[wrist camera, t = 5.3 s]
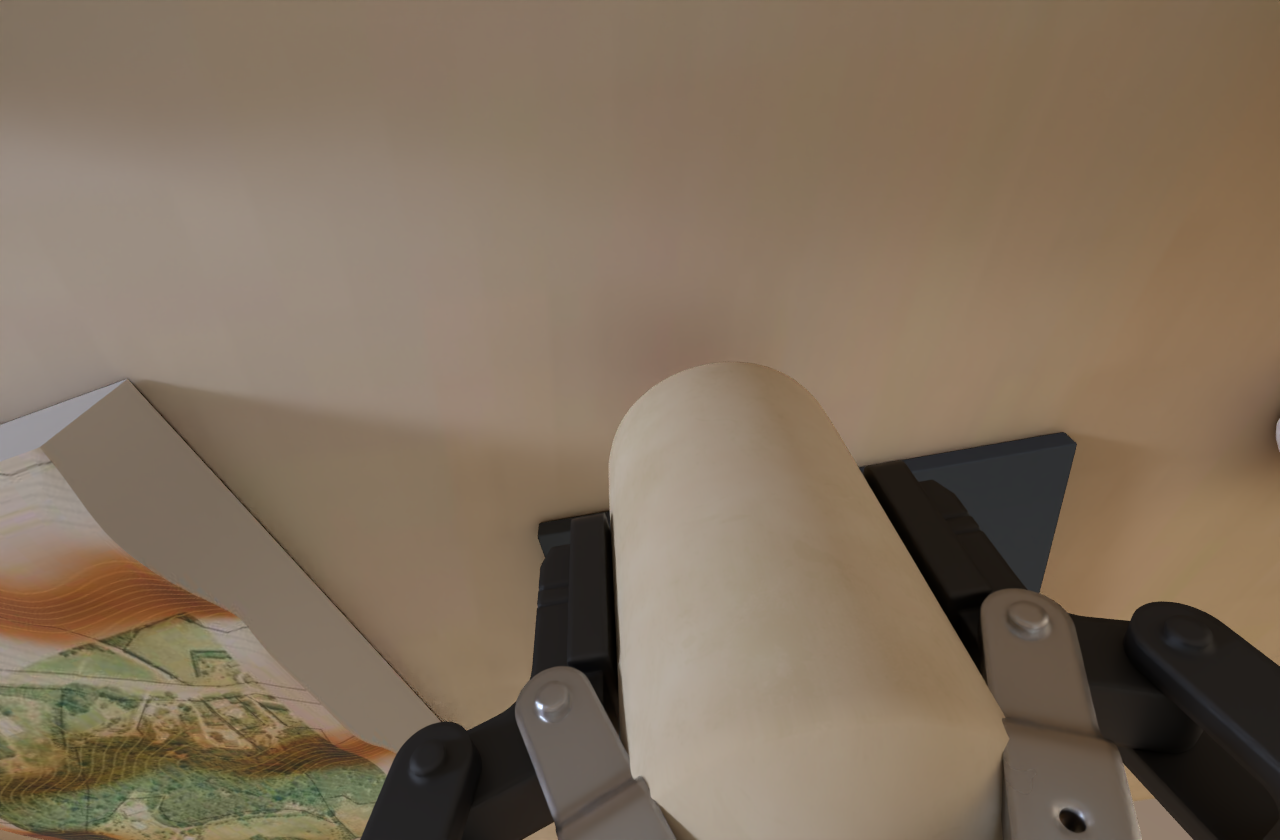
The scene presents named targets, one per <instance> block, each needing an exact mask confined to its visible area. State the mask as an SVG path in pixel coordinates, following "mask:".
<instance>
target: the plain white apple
mask: <svg viewBox="0 0 1280 840" xmlns="http://www.w3.org/2000/svg"><path fill="white" fill-rule="evenodd" d="M1276 440H1277V445H1278V448H1279V451H1280V418H1279V420H1278V422H1277V424H1276Z"/></svg>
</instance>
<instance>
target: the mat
mask: <svg viewBox="0 0 1280 840" xmlns="http://www.w3.org/2000/svg"><path fill="white" fill-rule="evenodd" d="M1076 446H1077V444H1076V442H1075V441H1073V440H1072V439H1071V438H1070V437H1069V436H1068V435H1067V434H1066V433H1063V432H1062V433H1056V434H1051V435H1045V436H1039V437H1033V438H1028V439H1022V440H1016V441H1010V442H1004V443H999V444H993V445H987V446H981V447H976V448H970V449H964V450H958V451H953V452H947V453H941V454H935V455H930V456H924V457H918V458H912V459H907V460H902V461H903V462H905V464H906V465H907V466H908V468H909V469H910V470H911V472H912V473H913V475H914V476H915V478H916V479H917V481H918V482H921V481H926V480H932V479H933V480H934V481H936V482H938V483H939V484H941V485H942V486H944V487H945V488H947V489H948V490H950V491H951V492H953V493H955V495H956V496H957V497H958V499H959V500H960V501H961V503H962V504H963V505H964V507H965V508H966V509H967V511H968V512H969V516H972V517H973V519H974V520H975V521H976V523H977V524H978V525H979V526H980V530H981V531H983V532H984V533H985V534H986V536H987V537H988V538H989V540H990V541H991V542H992V544H993V545H994V546H995V548H996V549H997V550H998V552H999V553H1000V554H1001V556H1002V557H1003V558H1004V560H1005V561H1006V562H1007V564H1008V565H1009V566H1010V568H1011V569H1012V570H1013V572H1014V573H1015V574H1016V575H1017V577H1018V578H1019V579H1020V581H1021V582H1022V583H1023V585H1024V586H1025V587H1026V588H1027V589H1028V590H1030V591H1033V592H1037V593H1039V592H1040V588H1041V584H1042V580H1043V577H1044V573H1045V569H1046V565H1047V561H1048V557H1049V553H1050V549H1051V545H1052V541H1053V537H1054V533H1055V529H1056V525H1057V521H1058V517H1059V513H1060V509H1061V505H1062V502H1063V498H1064V494H1065V490H1066V486H1067V482H1068V478H1069V474H1070V470H1071V466H1072V462H1073V458H1074V454H1075V450H1076ZM864 468H865V467H861V468H859V469H860V471H861V472H862V474H863V472H864ZM602 513H605V515H606V517H607V520H608V524H609V528H610V531H611V526H610V511H608V512H602ZM602 513H596V514H590V515H585V516H579V517H573V518H567V519H561V520H556V521H550V522H544V523H540V524H539V530H538V539H539V542H540V545H541V547H542V550H543V553H544V556H545V558H546V556H547V554H548V552H549V550H550V549H551V547H555V546H561V545H566V544H570V530H571V520H572V519H575V518H580V517H586V516H591V515H597V514H602ZM619 738H620V732H619ZM620 740H621V739H620Z"/></svg>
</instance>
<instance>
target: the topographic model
mask: <svg viewBox="0 0 1280 840" xmlns="http://www.w3.org/2000/svg"><path fill="white" fill-rule="evenodd" d="M438 722H441V721H440V720H439V719H438V718H437V717H436V716H435V714H434V713H433V712H432V711H431V710H430V709H429V708H428V707H427V706H426V705H425V704H424V702H423V701H422V700H421V699H420V698H419V697H418V696H417V695H416V694H415V693H414V692H413V690H412V689H411V688H410V687H409V686H408V685H407V684H406V683H405V682H404V681H403V680H402V678H401V677H400V676H399V675H398V674H397V673H396V672H395V671H394V670H393V669H392V668H391V666H390V665H389V664H388V663H387V662H386V661H385V660H384V659H383V658H382V657H381V656H380V654H379V653H378V652H377V651H376V650H375V649H374V648H373V647H372V646H371V645H370V643H369V642H368V641H367V640H366V639H365V638H364V637H363V636H362V635H361V634H360V633H359V631H358V630H357V629H356V628H355V627H354V626H353V625H352V624H351V623H350V622H349V621H348V619H347V618H346V617H345V616H344V615H343V614H342V613H341V612H340V611H339V610H338V609H337V607H336V606H335V605H334V604H333V603H332V602H331V601H330V600H329V599H328V598H327V597H326V595H325V594H324V593H323V592H322V591H321V590H320V589H319V588H318V587H317V586H316V585H315V583H314V582H313V581H312V580H311V579H310V578H309V577H308V576H307V575H306V574H305V572H304V571H303V570H302V569H301V568H300V567H299V566H298V565H297V564H296V563H295V562H294V560H293V559H292V558H291V557H290V556H289V555H288V554H287V553H286V552H285V551H284V550H283V548H282V547H281V546H280V545H279V544H278V543H277V542H276V541H275V540H274V539H273V538H272V536H271V535H270V534H269V533H268V532H267V531H266V530H265V529H264V528H263V527H262V526H261V524H260V523H259V522H258V521H257V520H256V519H255V518H254V517H253V516H252V515H251V514H250V512H249V511H248V510H247V509H246V508H245V507H244V506H243V505H242V504H241V503H240V501H239V500H238V499H237V498H236V497H235V496H234V495H233V494H232V493H231V492H230V491H229V489H228V488H227V487H226V486H225V485H224V484H223V483H222V482H221V481H220V480H219V479H218V477H217V476H216V475H215V474H214V473H213V472H212V471H211V470H210V469H209V468H208V467H207V465H206V464H205V463H204V462H203V461H202V460H201V459H200V458H199V457H198V456H197V455H196V453H195V452H194V451H193V450H192V449H191V448H190V447H189V446H188V445H187V444H186V443H185V441H184V440H183V439H182V438H181V437H180V436H179V435H178V434H177V433H176V432H175V430H174V429H173V428H172V427H171V426H170V425H169V424H168V423H167V422H166V421H165V420H164V418H163V417H162V416H161V415H160V414H159V413H158V412H157V411H156V410H155V409H154V408H153V406H152V405H151V404H150V403H149V402H148V401H147V400H146V399H145V398H144V397H143V396H142V394H141V393H140V392H139V391H138V390H137V389H136V388H135V387H134V386H133V385H132V384H131V382H130V381H129V380H128V379H126V380H123V381H120V382H117V383H115V384H112V385H109V386H106V387H103V388H101V389H98V390H95V391H92V392H90V393H87V394H84V395H81V396H79V397H76V398H73V399H70V400H68V401H65V402H62V403H59V404H56V405H54V406H51V407H48V408H45V409H43V410H40V411H37V412H34V413H32V414H29V415H26V416H23V417H21V418H18V419H15V420H12V421H9V422H7V423H4V424H1V425H0V830H4V831H8V832H12V833H16V834H19V835H24V836H29V837H34V838H39V839H44V840H360V839H361V836H362V834H363V832H364V829H365V827H366V825H367V822H368V820H369V817H370V815H371V813H372V810H373V808H374V805H375V803H376V801H377V798H378V796H379V793H380V791H381V789H382V786H383V784H384V782H385V779H386V777H387V774H388V772H389V770H390V767H391V765H392V762H393V760H394V758H395V756H396V754H397V753H398V751H399V750H400V748H401V747H402V745H403V744H404V743H405V742H406V741H407V740H408V739H409V738H410V737H411V736H412V735H413V734H415V733H416V732H417V731H419V730H421V729H422V728H424V727H426V726H428V725H431V724H434V723H438Z"/></svg>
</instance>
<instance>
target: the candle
mask: <svg viewBox="0 0 1280 840" xmlns="http://www.w3.org/2000/svg"><path fill="white" fill-rule="evenodd" d="M609 504H610V526H611V547H612V568H613V590H614V611H615V633H616V654H617V675H618V697H619V718H620V739H621V742H622V744H623V746H624V748H625V750H626V752H627V754H628V755H629V757H630V769H631V774H632V777H633V778H637V777H638V776H642V777H643V779H644V780H645V782H646V783H647V785H648V787H649V789H650V794H651V798H652V799H653V800H655V801H656V802H657V804H658V805H659V807H660V809H661V811H662V813H663V815H664V817H665V819H666V821H667V822H668V824H669V826H670V828H671V830H672V832H673V834H674V836H675V838H676V839H677V840H1003V833H1002V823H1001V809H1002V776H1003V751H1004V749H1005V747H1006V745H1007V743H1008V741H1009V737H1008V735H1007V733H1006V730H1005V728H1004V725H1003V722H1002V718H1005V716H1004V714H1003V712H1002V710H1001V709H1000V707H999V705H998V704H997V702H996V700H995V698H994V697H993V695H992V693H991V692H990V690H989V688H988V686H987V684H986V682H985V680H984V679H983V677H982V675H981V674H980V672H979V670H978V669H977V667H976V665H975V664H974V662H973V660H972V658H971V657H970V655H969V653H968V652H967V650H966V648H965V647H964V645H963V643H962V642H961V640H960V638H959V636H958V635H957V633H956V631H955V630H954V628H953V626H952V625H951V623H950V621H949V620H948V618H947V616H946V614H945V613H944V611H943V609H942V608H941V606H940V604H939V603H938V601H937V599H936V598H935V596H934V594H933V592H932V591H931V589H930V587H929V586H928V584H927V582H926V581H925V579H924V577H923V576H922V574H921V572H920V571H919V569H918V567H917V565H916V564H915V562H914V560H913V559H912V557H911V555H910V554H909V552H908V550H907V549H906V547H905V545H904V543H903V542H902V540H901V538H900V537H899V535H898V533H897V532H896V530H895V528H894V527H893V525H892V523H891V521H890V520H889V518H888V516H887V515H886V513H885V511H884V510H883V508H882V506H881V505H880V503H879V501H878V499H877V498H876V496H875V494H874V493H873V491H872V489H871V488H870V486H869V484H868V483H867V481H866V479H865V478H864V476H863V474H862V472H861V471H860V469H859V467H858V466H857V464H856V462H855V461H854V459H853V457H852V456H851V454H850V452H849V450H848V449H847V447H846V445H845V444H844V442H843V440H842V439H841V437H840V435H839V434H838V432H837V430H836V429H835V427H834V426H833V424H832V422H831V421H830V419H829V418H828V416H827V415H826V413H825V411H824V410H823V408H822V407H821V405H820V404H819V402H818V401H817V400H816V399H815V398H814V397H813V396H812V395H811V394H810V393H809V392H808V391H807V390H806V389H805V388H804V387H803V386H802V385H800V384H799V383H798V382H797V381H795V380H794V379H792V378H791V377H789V376H787V375H785V374H784V373H782V372H779V371H777V370H774V369H772V368H769V367H766V366H761V365H757V364H752V363H744V362H720V363H712V364H706V365H701V366H697V367H693V368H690V369H687V370H685V371H682V372H679V373H677V374H675V375H673V376H671V377H669V378H667V379H665V380H663V381H661V382H660V383H658V384H657V385H655V386H654V387H652V388H651V389H650V390H648V391H647V392H646V393H645V394H644V395H643V396H641V397H640V398H639V399H638V400H637V401H636V402H635V404H634V405H633V406H632V407H631V408H630V409H629V411H628V412H627V414H626V415H625V416H624V418H623V419H622V421H621V423H620V425H619V427H618V429H617V431H616V434H615V437H614V440H613V443H612V448H611V453H610V458H609Z"/></svg>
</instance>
